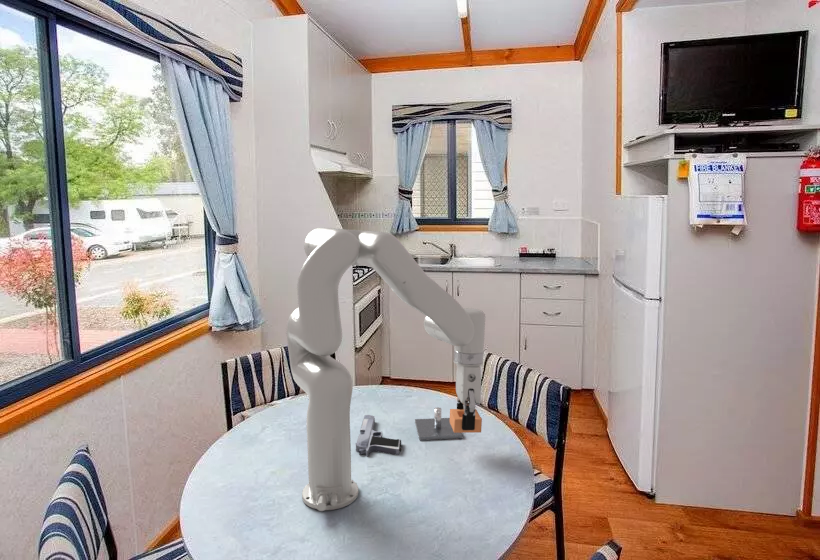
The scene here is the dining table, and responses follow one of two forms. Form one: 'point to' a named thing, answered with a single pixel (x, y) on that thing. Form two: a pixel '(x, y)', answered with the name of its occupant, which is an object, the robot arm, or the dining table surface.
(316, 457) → the robot arm
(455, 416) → the orange square ring block
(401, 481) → the dining table surface
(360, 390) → the dining table surface
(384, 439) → the handgun
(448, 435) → the plate
